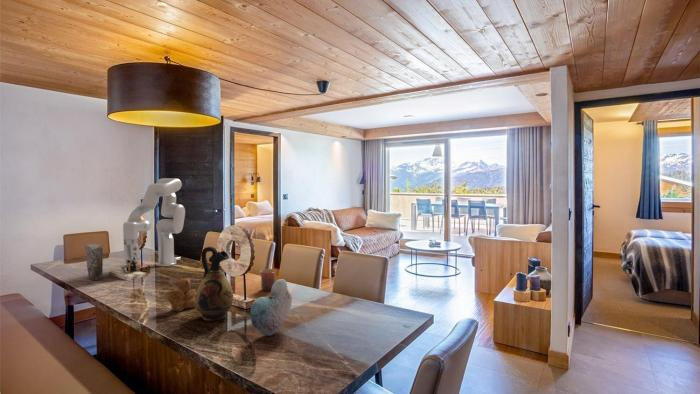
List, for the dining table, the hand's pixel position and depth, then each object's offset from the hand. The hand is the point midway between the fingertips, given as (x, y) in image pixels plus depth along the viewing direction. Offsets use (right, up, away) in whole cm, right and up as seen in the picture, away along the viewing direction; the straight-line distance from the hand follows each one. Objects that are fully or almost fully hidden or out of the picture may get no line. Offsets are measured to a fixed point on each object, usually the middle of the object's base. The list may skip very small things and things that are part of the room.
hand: (131, 270), depth 222 cm
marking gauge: (0, -1, 0) cm, 1 cm away
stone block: (-17, -3, -8) cm, 19 cm away
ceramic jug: (+76, -6, -68) cm, 103 cm away
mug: (+92, -4, -28) cm, 96 cm away
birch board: (-2, -3, -1) cm, 3 cm away
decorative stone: (+106, -7, -86) cm, 136 cm away
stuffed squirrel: (+59, -5, -58) cm, 83 cm away
